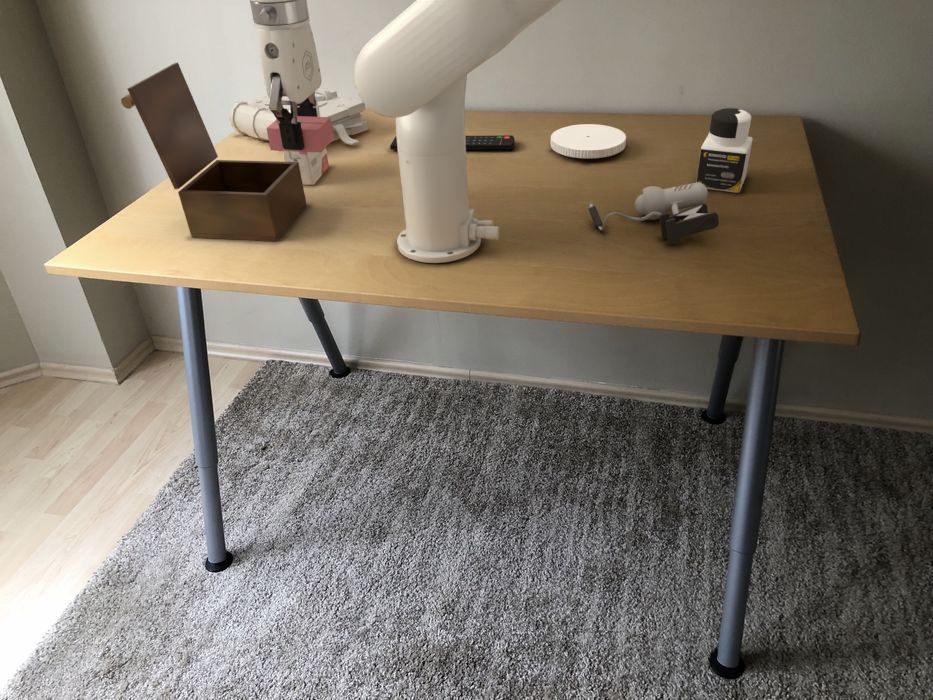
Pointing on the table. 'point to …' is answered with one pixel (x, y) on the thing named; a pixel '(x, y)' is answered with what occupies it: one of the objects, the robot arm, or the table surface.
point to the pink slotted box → (305, 134)
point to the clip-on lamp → (671, 199)
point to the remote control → (482, 142)
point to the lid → (172, 123)
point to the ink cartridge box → (309, 161)
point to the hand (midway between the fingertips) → (301, 140)
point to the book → (258, 116)
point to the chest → (244, 200)
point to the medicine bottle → (726, 151)
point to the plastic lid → (588, 141)
